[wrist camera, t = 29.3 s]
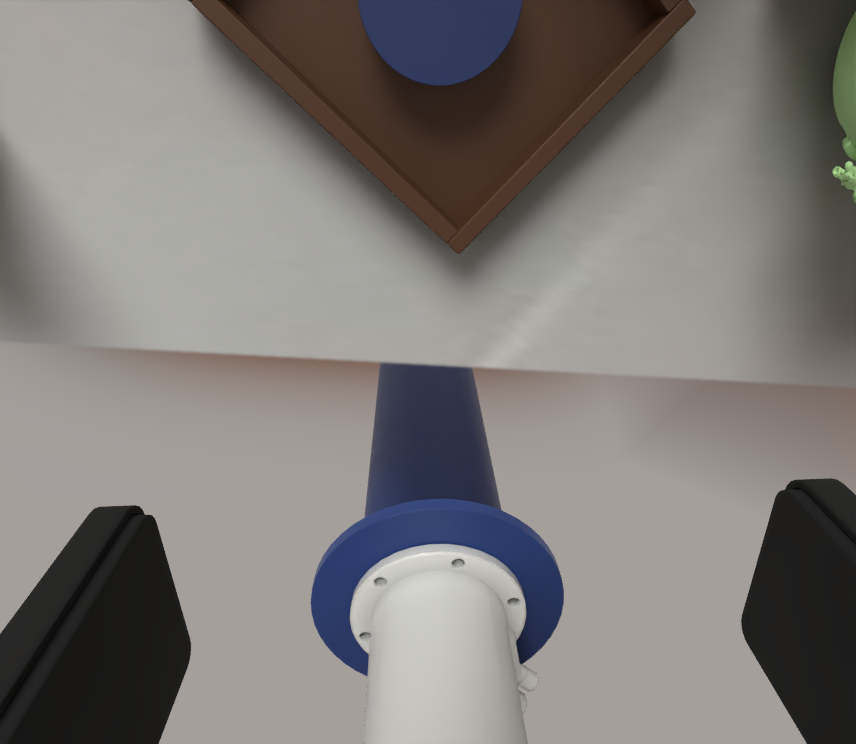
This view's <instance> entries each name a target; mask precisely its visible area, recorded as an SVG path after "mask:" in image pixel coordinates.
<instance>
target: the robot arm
mask: <svg viewBox="0 0 856 744" xmlns="http://www.w3.org/2000/svg"><path fill="white" fill-rule="evenodd" d="M525 619H526V604H525V599H524V595H523V591H522V587H521V585H520V583H519V581H518V580H517V578H516V576H515V575H514V574H513V573H512V571H511V570H510V569H509V568H508V567H507V566H506V565H505V564H503V563H502V562H500V561H499V560H498V559H496V558H495V557H493V556H491V555H489V554H487V553H485V552H482V551H480V550H477V549H473V548H470V547H466V546H461V545H453V544H428V545H422V546H416V547H411V548H408V549H405V550H402V551H399V552H396V553H394V554H392V555H390V556H388V557H386V558H384V559H382V560H381V561H379V562H378V563H377V564H375V565H374V566H373V567H372V568H370V569H369V570H368V571H367V572H366V574H365V575H364V576H363V577H362V578H361V579H360V581H359V583H358V585H357V587H356V588H355V590H354V593H353V597H352V601H351V611H350V622H351V628H352V631H353V634H354V636H355V638H356V640H357V642H358V643H359V644H360V646H361V647H362V648H363V649H364V651H366V652H367V653H368V654H369V664H368V680H367V694H366V707H365V722H364V736H363V744H528V743H527V737H526V731H525V725H524V720H523V713H524V711H525V708H526V705H527V700H526V696H525V694H523V693H522V692H521V691H519V690H518V685H519V686H521V687H522V688H524V689H525V690H527V691H532V690H534V689H535V688H536V686H537V684H538V676H537V674H536V673H535V672H534V671H532V670H531V669H529V668H528V667H526V666H524V665H521V664H520V663H519V658H518V652H517V647H516V640H517V639H518V638H519V636H520V634H521V632H522V630H523V627H524V625H525ZM741 623H742V631H743V634H744V637H745V640H746V642H747V644H748V646H749V647H750V649H751V650H752V652H753V654H754V655H755V657H756V659H757V661H758V662H759V664H760V665H761V667H762V669H763V671H764V672H765V674H766V676H767V677H768V679H769V681H770V682H771V684H772V686H773V687H774V689H775V691H776V692H777V694H778V696H779V697H780V699H781V701H782V703H783V704H784V706H785V708H786V709H787V711H788V713H789V714H790V716H791V718H792V719H793V721H794V723H795V724H796V726H797V728H798V729H799V731H800V733H801V734H802V736H803V738H804V739H805V741H806V743H807V744H856V495H855V494H854V493H853V492H852V491H851V490H849V489H848V488H847V487H846V486H845V485H844V484H843V483H841V482H840V481H838V480H836V479H806V480H794V481H791V482H790V483H789V484H788V485H787V487H786V489H785V490H782V491H780V492H779V493H778V494H777V496H776V498H775V501H774V504H773V508H772V511H771V515H770V519H769V522H768V526H767V529H766V533H765V536H764V540H763V544H762V547H761V551H760V554H759V558H758V561H757V565H756V568H755V572H754V575H753V579H752V583H751V586H750V590H749V593H748V596H747V600H746V603H745V607H744V611H743V614H742V620H741ZM190 654H191V642H190V637H189V634H188V630H187V627H186V623H185V620H184V616H183V613H182V610H181V606H180V603H179V599H178V596H177V592H176V589H175V586H174V582H173V578H172V575H171V571H170V568H169V565H168V561H167V558H166V554H165V551H164V547H163V544H162V541H161V537H160V533H159V530H158V526H157V523H156V521H155V518H154V517H153V516H152V515H145V514H144V512H143V510H142V509H141V508H140V507H139V506H111V507H110V506H109V507H98V508H95V509H94V510H93V511H92V512H91V513H90V514H89V515H88V516H87V518H86V519H85V520H84V522H83V523H82V524H81V526H80V527H79V528H78V530H77V531H76V533H75V534H74V535H73V537H72V538H71V539H70V541H69V542H68V543H67V545H66V546H65V547H64V549H63V550H62V551H61V553H60V554H59V555H58V557H57V558H56V560H55V561H54V562H53V564H52V565H51V566H50V568H49V569H48V571H47V572H46V573H45V574H44V576H43V577H42V578H41V580H40V581H39V583H38V584H37V585H36V587H35V588H34V589H33V591H32V592H31V593H30V595H29V596H28V597H27V599H26V600H25V601H24V603H23V604H22V605H21V607H20V608H19V610H18V611H17V612H16V614H15V615H14V617H13V618H12V619H11V620H10V622H9V623H8V624H7V626H6V627H5V628H4V630H3V631H2V633H1V634H0V744H158V743H159V741H160V738H161V736H162V733H163V731H164V728H165V725H166V723H167V720H168V717H169V715H170V712H171V709H172V707H173V704H174V701H175V699H176V696H177V694H178V691H179V688H180V686H181V683H182V680H183V678H184V675H185V673H186V670H187V667H188V664H189V660H190Z"/></svg>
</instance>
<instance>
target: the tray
mask: <svg viewBox="0 0 856 744" xmlns="http://www.w3.org/2000/svg"><path fill="white" fill-rule="evenodd" d="M188 1H190V2H192V4H193V5H194V6H195V7H196V8H197V9H198V10H199V11H200V12H201V13H202V14H203V15H204V16H205V17H206V18H207V19H209V20H210V21H211V22H212V23H213V24H214V25H215V26H216V27H217V28H218V29H219V30H220V31H221V32H222V33H223V34H225V35H226V36H227V37H228V38H229V39H230V40H231V41H232V42H233V43H234V44H235V45H236V46H237V47H238V48H239V49H240V50H242V51H243V52H244V53H245V54H246V55H247V56H248V57H249V58H250V59H251V60H252V61H253V62H254V63H255V64H256V65H257V66H259V67H260V68H261V69H262V70H263V71H264V72H265V73H266V74H267V75H268V76H269V77H270V78H271V79H272V80H273V81H274V82H276V83H277V84H278V85H279V86H280V87H281V88H282V89H283V90H284V91H285V92H286V93H287V94H288V95H289V96H290V97H291V98H293V99H294V100H295V101H296V102H297V103H298V104H299V105H300V106H301V107H302V108H303V109H304V110H305V111H306V112H307V113H308V114H310V115H311V116H312V117H313V118H314V119H315V120H316V121H317V122H318V123H319V124H320V125H321V126H322V127H323V128H324V129H325V130H327V131H328V132H329V133H330V134H331V135H332V136H333V137H334V138H335V139H336V140H337V141H338V142H339V143H340V144H341V145H342V146H344V147H345V148H346V149H347V150H348V151H349V152H350V153H351V154H352V155H353V156H354V157H355V158H356V159H357V160H358V161H359V162H361V163H362V164H363V165H364V166H365V167H366V168H367V169H368V170H369V171H370V172H371V173H372V174H373V175H374V176H375V177H377V178H378V179H379V180H380V181H381V182H382V183H383V184H384V185H385V186H386V187H387V188H388V189H389V190H390V191H391V192H392V193H394V194H395V195H396V196H397V197H398V198H399V199H400V200H401V201H402V202H403V203H404V204H405V205H406V206H407V207H408V208H409V209H411V210H412V211H413V212H414V213H415V214H416V215H417V216H418V217H419V218H420V219H421V220H422V221H423V222H424V223H425V224H426V225H428V226H429V227H430V228H431V229H432V230H433V231H434V232H435V233H436V234H437V235H438V236H439V237H440V238H441V239H442V240H443V241H445V242H446V243H447V244H448V245H449V246H450V247H451V248H452V249H453V250H454V251H455V252H456V253H457V254H460V253H461V252H462V251H463V250H464V249H465V248H466V247H467V246H468V245H469V244H470V243H471V242H472V241H473V240H474V239H475V238H476V237H477V236H478V235H479V234H480V233H481V232H482V231H483V230H484V229H485V228H486V227H487V225H488V224H489V223H490V222H491V221H492V220H493V219H494V218H495V217H496V216H497V215H498V214H499V213H500V212H501V211H502V210H503V209H504V208H505V207H506V206H507V205H508V204H509V203H510V202H511V201H512V200H513V199H514V198H515V197H516V196H517V195H518V194H519V193H520V192H521V191H522V190H523V189H524V188H525V187H526V186H527V185H528V184H529V183H530V182H531V181H532V180H533V179H534V178H535V177H536V176H537V175H538V173H539V172H540V171H541V170H542V169H543V168H544V167H545V166H546V165H547V164H548V163H549V162H550V161H551V160H552V159H553V158H554V157H555V156H556V155H557V154H558V153H559V152H560V151H561V150H562V149H563V148H564V147H565V146H566V145H567V144H568V143H569V142H570V141H571V140H572V139H573V138H574V137H575V136H576V135H577V134H578V133H579V132H580V131H581V130H582V129H583V128H584V127H585V126H586V125H587V124H588V123H589V121H590V120H591V119H592V118H593V117H594V116H595V115H596V114H597V113H598V112H599V111H600V110H601V109H602V108H603V107H604V106H605V105H606V104H607V103H608V102H609V101H610V100H611V99H612V98H613V97H614V96H615V95H616V94H617V93H618V92H619V91H620V90H621V89H622V88H623V87H624V86H625V85H626V84H627V83H628V82H629V81H630V80H631V79H632V78H633V77H634V76H635V75H636V74H637V73H638V72H639V71H640V69H641V68H642V67H643V66H644V65H645V64H646V63H647V62H648V61H649V60H650V59H651V58H652V57H653V56H654V55H655V54H656V53H657V52H658V51H659V50H660V49H661V48H662V47H663V46H664V45H665V44H666V43H667V42H668V41H669V40H670V39H671V38H672V37H673V36H674V35H675V34H676V33H677V32H678V31H679V30H680V29H681V28H682V27H683V26H684V25H685V24H686V23H687V22H688V21H689V20H690V19H691V17H692V16H693V15H694V14H695V13H696V12H695V10H694V9H693V7H692V6H691V4H690V3H689V2H688V0H523V1H522V8H521V13H520V17H519V20H518V23H517V26H516V29H515V31H514V34H513V36H512V38H511V40H510V42H509V43H508V45H507V46H506V48H505V50H504V51H503V52H502V54H501V55H500V56H499V57H498V59H497V60H496V61H495V62H494V63H493V64H492V65H491V66H490V67H489V68H487V69H486V70H484V71H483V72H482V73H480V74H479V75H477V76H475V77H473V78H472V79H470V80H467V81H464V82H462V83H458V84H454V85H447V86H431V85H426V84H421V83H418V82H415V81H412V80H410V79H408V78H406V77H404V76H402V75H401V74H399V73H398V72H397V71H395V70H394V69H392V68H391V67H390V66H389V65H388V64H387V63H386V62H385V61H384V60H383V59H382V58H381V56H380V55H379V54H378V53H377V51H376V50H375V48H374V47H373V45H372V43H371V42H370V40H369V38H368V36H367V34H366V31H365V29H364V26H363V23H362V20H361V16H360V11H359V6H358V0H188Z"/></svg>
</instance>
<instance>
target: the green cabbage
mask: <svg viewBox="0 0 856 744" xmlns="http://www.w3.org/2000/svg"><path fill="white" fill-rule="evenodd" d="M833 101H834V108H835V112H836V115H837V118H838V120H839V123H840V124H841V125H842V127H843V129H844V131H845V133H846V137H845V138H844V139H843V141H842V146H843V149H844V150H845V152H846V154H847V155H848V156H849V157H850V158H851V159H853V160H855V161H856V12H855V13H854V15H853V17H852V19H851V20H850V22H849V24H848V26H847V28H846V30H845V33H844V36H843V39H842V41H841V44H840V48H839V51H838V55H837V59H836V64H835V69H834V76H833ZM832 174H833V175H834V177H835V178H839V179H840V180H841V181H842V183H841V186H842V185H844V186H845V187H846V188H847V189H849V190H853V191H854V192H853V195H852V196H853V200H854V202H855V203H856V167H854V166H853V163H852V162H850V161H848V162H847V163H846V164H845V170H844V169H842V168H841V167H839V166H837V167H835V168H834V169H833V170H832Z"/></svg>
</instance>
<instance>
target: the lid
mask: <svg viewBox="0 0 856 744" xmlns="http://www.w3.org/2000/svg"><path fill="white" fill-rule="evenodd" d="M522 1H523V0H358V6H359V11H360V16H361V20H362V23H363V26H364V29H365V31H366V34H367V36H368V38H369V40H370V42H371V43H372V45H373V47H374V48H375V50H376V51H377V53H378V54H379V55H380V56H381V58H382V59H383V60H384V61H385V62H386V63H387V64H388V65H389V66H390V67H391V68H392V69H394V70H395V71H397V72H398V73H399V74H401V75H402V76H404V77H406V78H408V79H410V80H412V81H415V82H418V83H421V84H426V85H431V86H447V85H454V84H458V83H462V82H464V81H467V80H470V79H472V78H473V77H475V76H477V75H479V74H480V73H482V72H483V71H484V70H486V69H487V68H489V67H490V66H491V65H492V64H493V63H494V62H495V61H496V60H497V59H498V57H499V56H500V55H501V54H502V52H503V51H504V50H505V48H506V46H507V45H508V43H509V42H510V40H511V38H512V36H513V34H514V31H515V29H516V26H517V23H518V20H519V17H520V13H521V8H522Z"/></svg>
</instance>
